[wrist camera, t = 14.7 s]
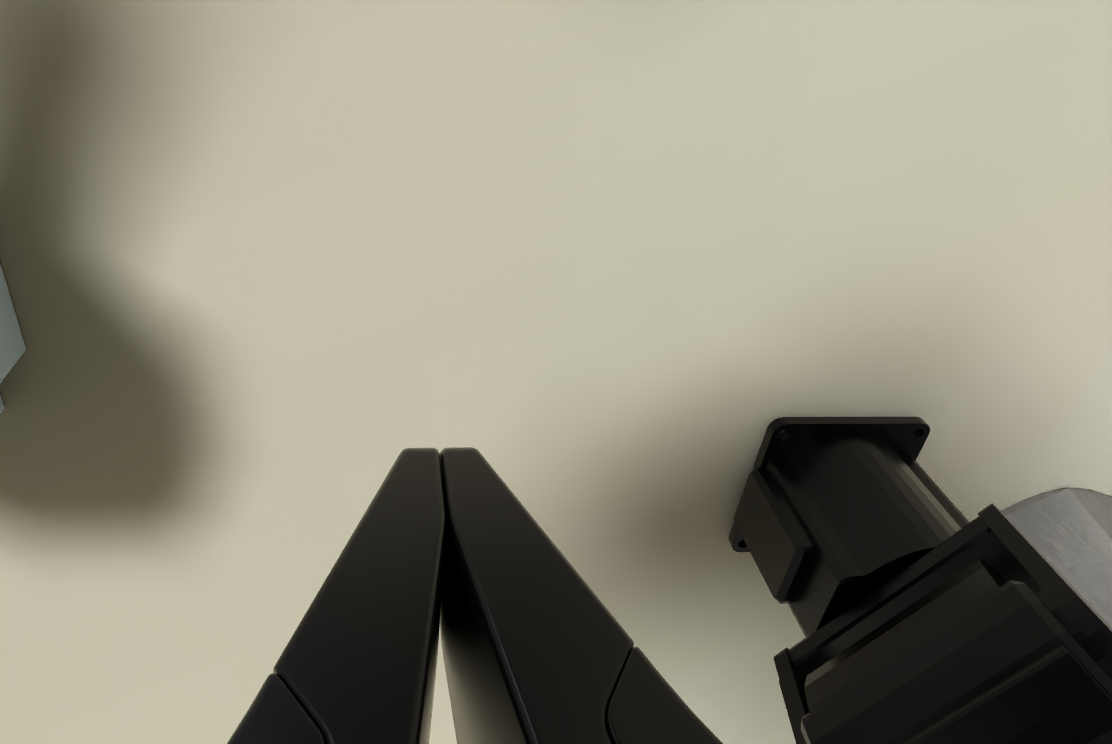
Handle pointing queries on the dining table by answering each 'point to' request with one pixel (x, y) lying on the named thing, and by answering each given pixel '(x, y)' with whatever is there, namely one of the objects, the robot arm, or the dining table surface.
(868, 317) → the dining table surface
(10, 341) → the lever frame
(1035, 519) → the coffeepot
